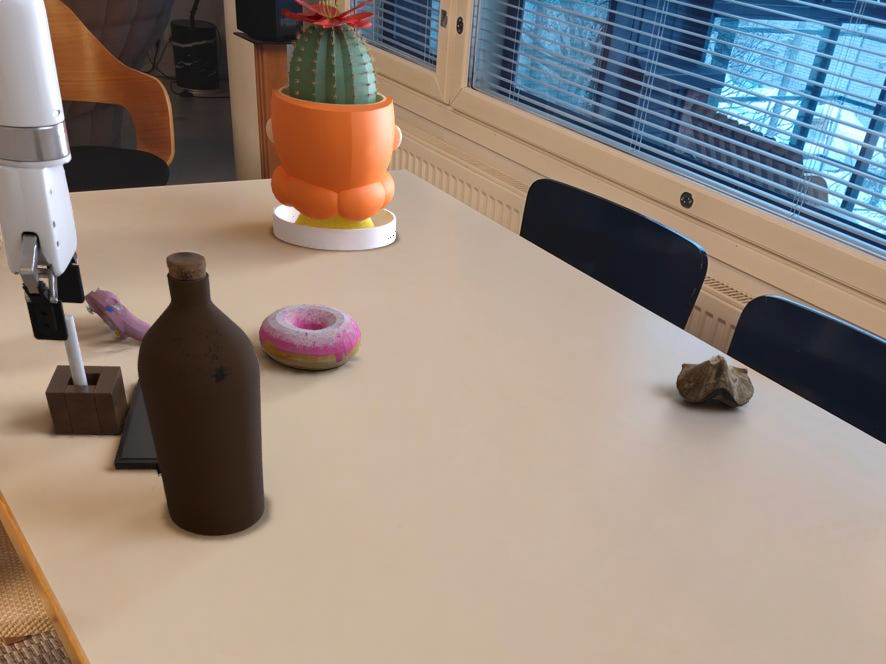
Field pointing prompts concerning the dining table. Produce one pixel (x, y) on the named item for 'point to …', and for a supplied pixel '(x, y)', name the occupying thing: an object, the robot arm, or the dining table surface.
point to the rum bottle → (203, 407)
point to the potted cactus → (332, 138)
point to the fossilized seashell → (715, 382)
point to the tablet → (136, 438)
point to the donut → (310, 336)
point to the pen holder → (87, 401)
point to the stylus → (74, 353)
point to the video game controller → (116, 315)
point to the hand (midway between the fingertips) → (61, 319)
